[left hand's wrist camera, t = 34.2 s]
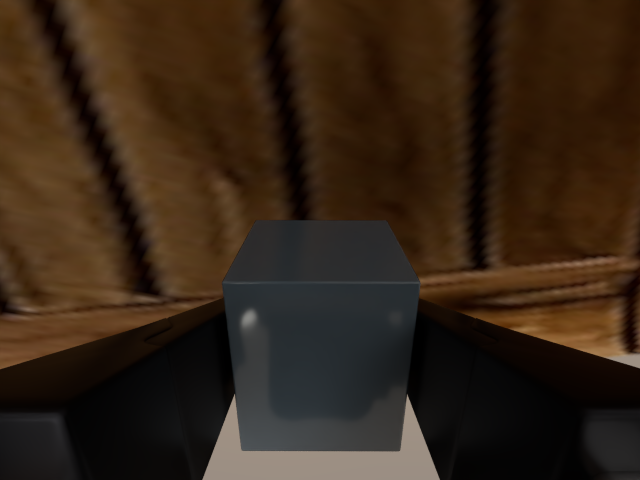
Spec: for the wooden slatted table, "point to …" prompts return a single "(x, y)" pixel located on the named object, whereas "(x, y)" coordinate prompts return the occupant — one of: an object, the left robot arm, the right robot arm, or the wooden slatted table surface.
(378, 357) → the blue-grey block
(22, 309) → the wooden slatted table surface
